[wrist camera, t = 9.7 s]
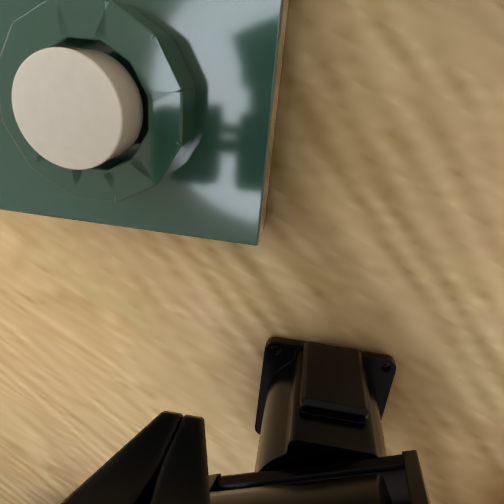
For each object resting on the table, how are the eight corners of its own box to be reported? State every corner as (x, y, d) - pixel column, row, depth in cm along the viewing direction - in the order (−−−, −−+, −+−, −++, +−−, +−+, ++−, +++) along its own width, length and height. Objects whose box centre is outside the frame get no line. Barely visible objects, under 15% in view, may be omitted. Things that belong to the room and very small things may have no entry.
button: (142, 53, 14) (119, 53, 12) (144, 164, 15) (125, 176, 14) (37, 43, 14) (2, 41, 12) (50, 152, 15) (19, 163, 14)
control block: (292, -33, 15) (284, -61, 12) (264, 227, 19) (251, 265, 16) (-20, -57, 16) (-116, -91, 13) (18, 193, 20) (-46, 222, 17)
